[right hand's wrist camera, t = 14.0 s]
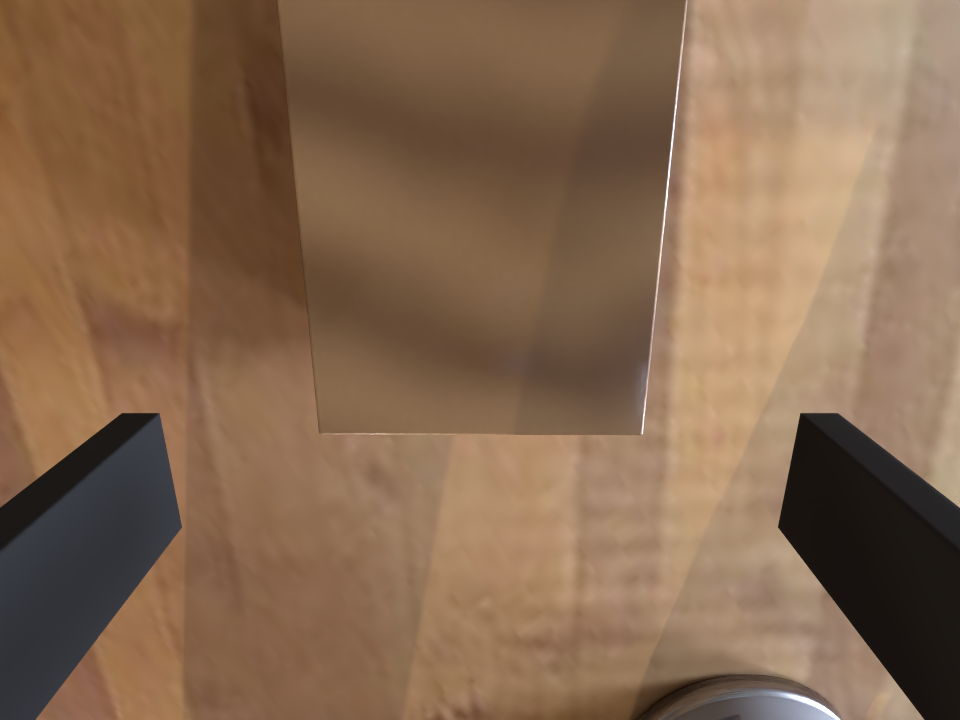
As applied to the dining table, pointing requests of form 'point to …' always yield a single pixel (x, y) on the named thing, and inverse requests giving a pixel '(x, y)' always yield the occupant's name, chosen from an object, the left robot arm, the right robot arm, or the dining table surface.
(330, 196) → the cabinet
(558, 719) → the dining table surface
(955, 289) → the dining table surface
